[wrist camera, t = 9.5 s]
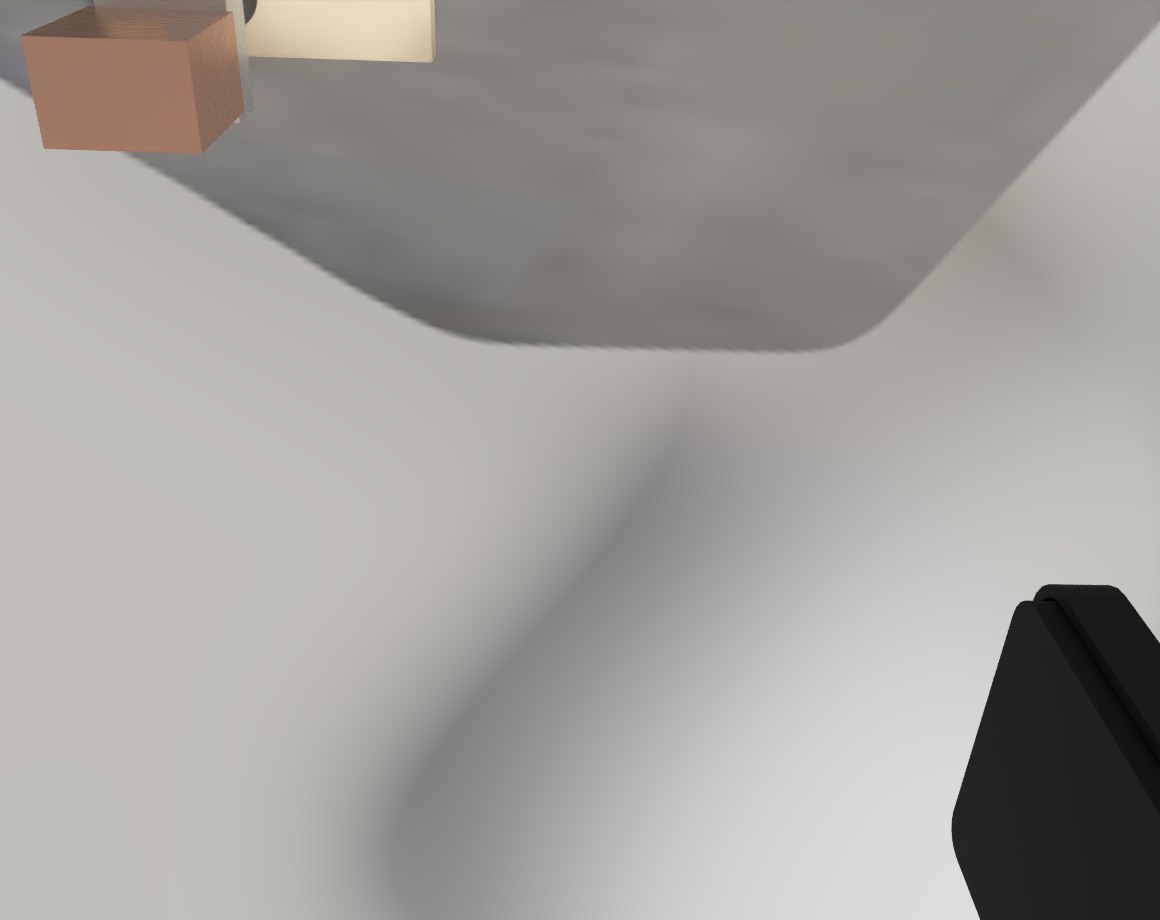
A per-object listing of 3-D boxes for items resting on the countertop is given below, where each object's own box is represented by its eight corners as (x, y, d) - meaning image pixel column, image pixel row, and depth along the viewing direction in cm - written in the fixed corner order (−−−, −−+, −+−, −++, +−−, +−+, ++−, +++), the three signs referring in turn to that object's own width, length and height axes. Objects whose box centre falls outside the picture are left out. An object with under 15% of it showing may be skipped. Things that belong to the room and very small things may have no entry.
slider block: (197, -55, 36) (7, 20, 23) (311, -50, 36) (184, 26, 23) (209, 43, 37) (37, 161, 25) (319, 46, 37) (203, 167, 25)
